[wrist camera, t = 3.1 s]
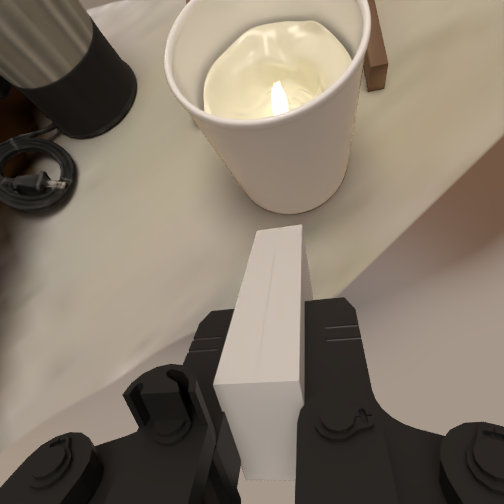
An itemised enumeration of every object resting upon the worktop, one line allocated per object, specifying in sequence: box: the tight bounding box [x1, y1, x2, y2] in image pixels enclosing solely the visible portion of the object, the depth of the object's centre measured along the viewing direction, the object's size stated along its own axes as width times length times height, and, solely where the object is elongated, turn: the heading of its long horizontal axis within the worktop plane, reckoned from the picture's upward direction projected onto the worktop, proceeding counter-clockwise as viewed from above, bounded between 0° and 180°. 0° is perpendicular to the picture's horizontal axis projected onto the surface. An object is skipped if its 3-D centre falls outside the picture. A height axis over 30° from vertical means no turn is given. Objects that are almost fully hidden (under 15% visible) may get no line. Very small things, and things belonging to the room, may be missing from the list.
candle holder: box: [164, 0, 371, 214], centre depth 22 cm, size 10×10×12 cm
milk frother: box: [0, 0, 136, 212], centre depth 27 cm, size 14×16×15 cm
